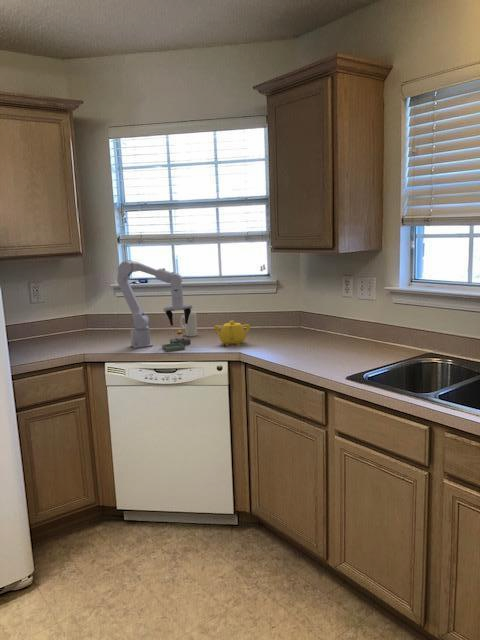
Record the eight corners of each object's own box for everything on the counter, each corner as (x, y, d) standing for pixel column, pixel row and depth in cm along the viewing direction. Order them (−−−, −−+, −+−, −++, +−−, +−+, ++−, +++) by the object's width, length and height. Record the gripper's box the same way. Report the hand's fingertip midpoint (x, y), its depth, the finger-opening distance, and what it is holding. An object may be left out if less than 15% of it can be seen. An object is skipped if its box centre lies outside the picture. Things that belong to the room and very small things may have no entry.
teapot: (212, 345, 274) (211, 322, 271) (233, 339, 283) (231, 317, 281) (231, 348, 264) (230, 324, 262) (252, 343, 274) (251, 320, 272)
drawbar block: (173, 346, 274) (173, 341, 274) (170, 343, 281) (169, 339, 280) (190, 344, 277) (190, 339, 277) (186, 341, 284) (186, 337, 283)
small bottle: (178, 345, 277) (177, 331, 276) (176, 343, 280) (175, 330, 279) (184, 344, 278) (183, 330, 277) (182, 343, 281) (181, 329, 280)
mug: (199, 334, 301) (198, 312, 299) (193, 336, 295) (192, 315, 293) (184, 333, 306) (183, 312, 304) (178, 335, 300) (176, 314, 298)
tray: (166, 351, 263) (166, 348, 263) (162, 348, 272) (162, 344, 271) (184, 349, 267) (184, 346, 266) (179, 346, 275) (179, 342, 275)
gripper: (165, 300, 268) (167, 327, 271) (193, 297, 274) (195, 324, 276) (161, 298, 275) (163, 325, 277) (189, 295, 280) (190, 321, 283)
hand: (179, 324), depth 277 cm, fingers open, 7 cm apart
